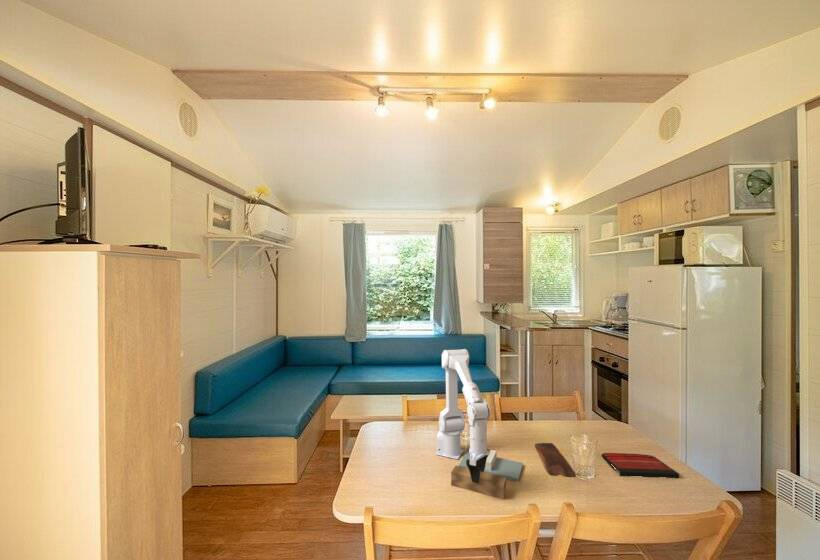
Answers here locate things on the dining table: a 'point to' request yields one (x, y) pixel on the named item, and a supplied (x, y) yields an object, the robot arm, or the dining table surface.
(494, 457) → the ridge stand
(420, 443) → the dining table surface
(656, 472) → the binder
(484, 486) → the walnut bar
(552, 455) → the wooden tablet
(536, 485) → the dining table surface
